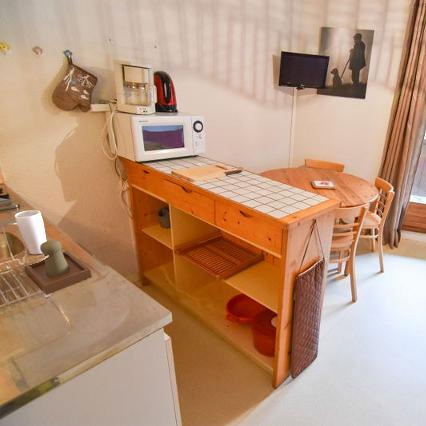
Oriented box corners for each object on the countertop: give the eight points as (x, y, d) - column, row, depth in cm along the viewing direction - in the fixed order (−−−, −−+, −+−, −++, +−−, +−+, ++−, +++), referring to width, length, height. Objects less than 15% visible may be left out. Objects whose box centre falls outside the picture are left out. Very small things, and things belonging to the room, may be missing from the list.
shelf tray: (92, 277, 104) (90, 269, 102) (46, 294, 94) (44, 286, 93) (69, 257, 113) (67, 250, 111) (25, 271, 103) (23, 264, 102)
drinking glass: (50, 245, 119) (39, 208, 113) (52, 252, 115) (41, 214, 109) (26, 250, 115) (13, 212, 109) (27, 258, 110) (14, 219, 104)
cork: (48, 279, 99) (39, 248, 95) (44, 271, 103) (35, 241, 98) (71, 272, 103) (64, 242, 99) (67, 264, 107) (59, 235, 103)
